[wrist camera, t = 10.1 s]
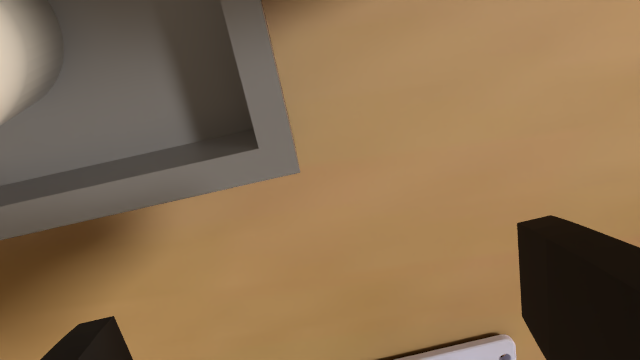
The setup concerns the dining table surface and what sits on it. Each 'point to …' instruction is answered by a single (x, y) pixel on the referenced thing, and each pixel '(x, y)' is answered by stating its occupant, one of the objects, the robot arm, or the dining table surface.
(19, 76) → the salt shaker
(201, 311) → the dining table surface
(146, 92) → the tray
